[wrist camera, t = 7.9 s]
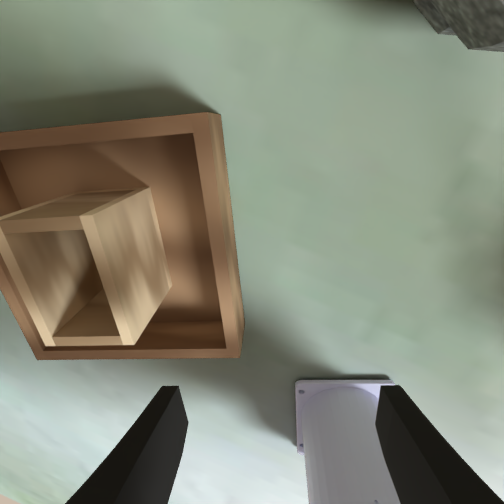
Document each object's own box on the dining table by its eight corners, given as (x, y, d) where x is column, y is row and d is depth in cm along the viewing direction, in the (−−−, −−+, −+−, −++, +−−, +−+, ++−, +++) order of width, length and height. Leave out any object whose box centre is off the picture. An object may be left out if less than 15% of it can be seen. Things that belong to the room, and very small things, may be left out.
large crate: (245, 323, 22) (240, 357, 19) (69, 327, 23) (37, 359, 20) (220, 114, 16) (207, 111, 13) (-13, 137, 17) (-77, 139, 14)
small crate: (172, 285, 20) (134, 344, 15) (106, 287, 21) (45, 346, 15) (150, 186, 17) (92, 215, 12) (74, 192, 18) (-15, 221, 12)
